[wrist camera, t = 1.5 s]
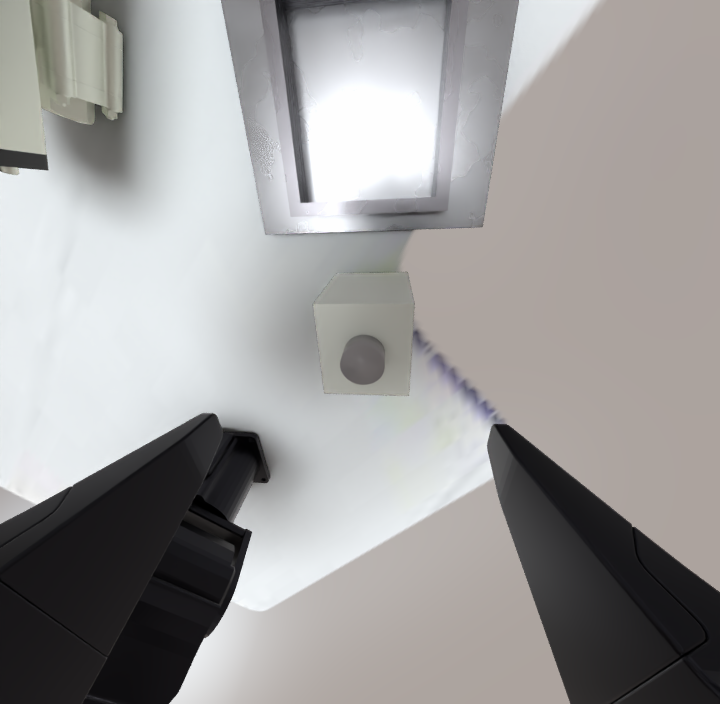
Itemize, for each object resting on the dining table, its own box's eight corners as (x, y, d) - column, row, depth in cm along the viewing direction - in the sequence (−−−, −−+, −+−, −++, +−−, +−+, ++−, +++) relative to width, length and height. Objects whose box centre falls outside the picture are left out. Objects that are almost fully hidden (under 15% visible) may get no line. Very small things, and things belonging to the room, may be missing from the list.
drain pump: (404, 343, 19) (410, 411, 13) (341, 342, 20) (319, 408, 14) (407, 271, 17) (416, 313, 11) (336, 273, 18) (305, 313, 11)
